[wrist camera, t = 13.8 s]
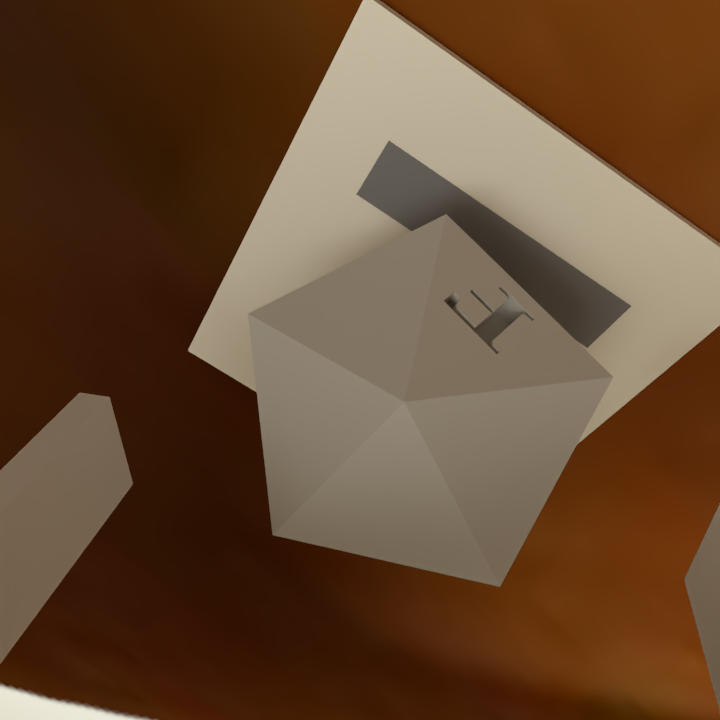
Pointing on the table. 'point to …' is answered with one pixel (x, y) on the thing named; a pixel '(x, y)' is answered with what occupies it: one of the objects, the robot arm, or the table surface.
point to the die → (418, 406)
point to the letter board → (468, 209)
